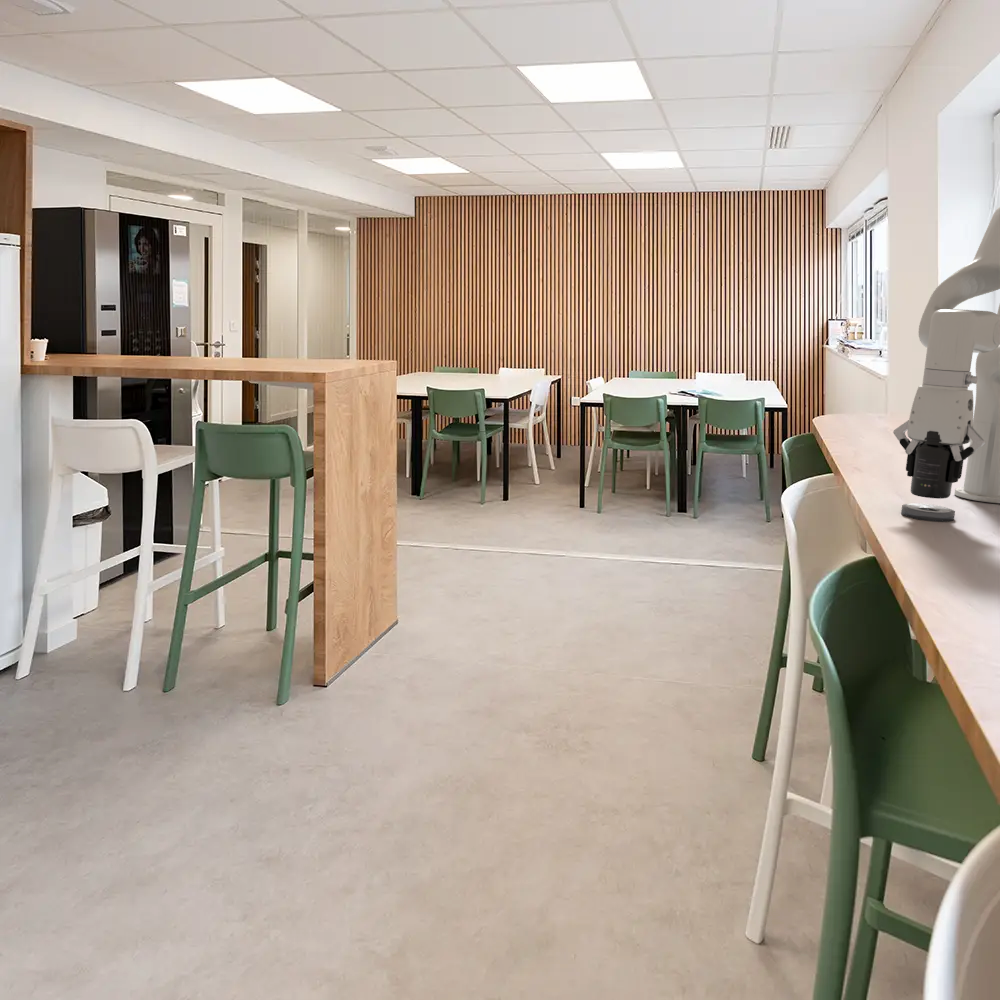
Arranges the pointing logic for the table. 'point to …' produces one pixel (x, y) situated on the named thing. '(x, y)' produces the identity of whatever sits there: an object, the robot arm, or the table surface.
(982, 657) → the table surface
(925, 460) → the supplement bottle
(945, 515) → the plate
